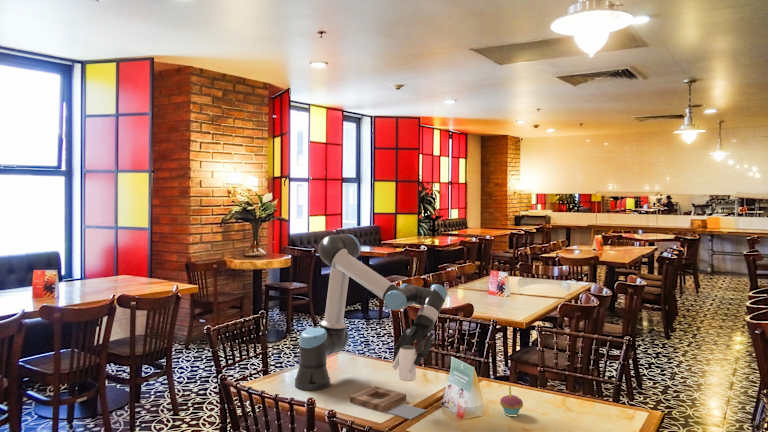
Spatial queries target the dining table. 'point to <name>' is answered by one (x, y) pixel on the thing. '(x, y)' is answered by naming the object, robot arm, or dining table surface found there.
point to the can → (406, 363)
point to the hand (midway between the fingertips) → (402, 369)
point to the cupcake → (511, 403)
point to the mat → (406, 411)
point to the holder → (369, 401)
